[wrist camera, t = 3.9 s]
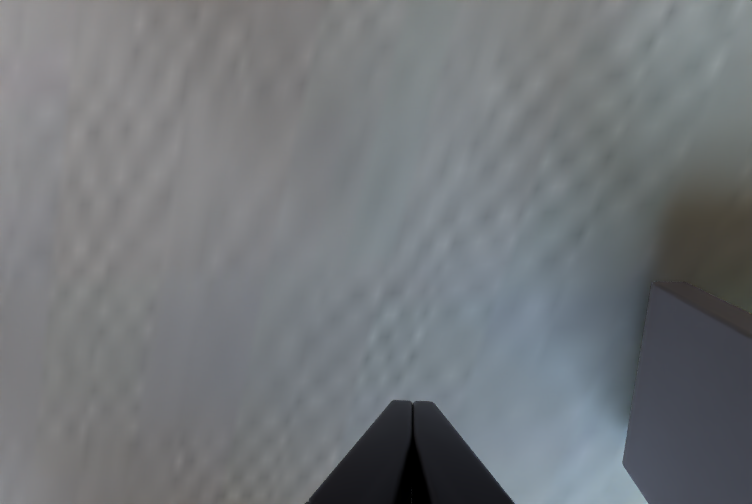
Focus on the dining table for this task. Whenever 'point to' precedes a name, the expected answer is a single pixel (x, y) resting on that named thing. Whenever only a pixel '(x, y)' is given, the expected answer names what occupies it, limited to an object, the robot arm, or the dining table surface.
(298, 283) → the dining table surface
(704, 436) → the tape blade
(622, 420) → the dining table surface
